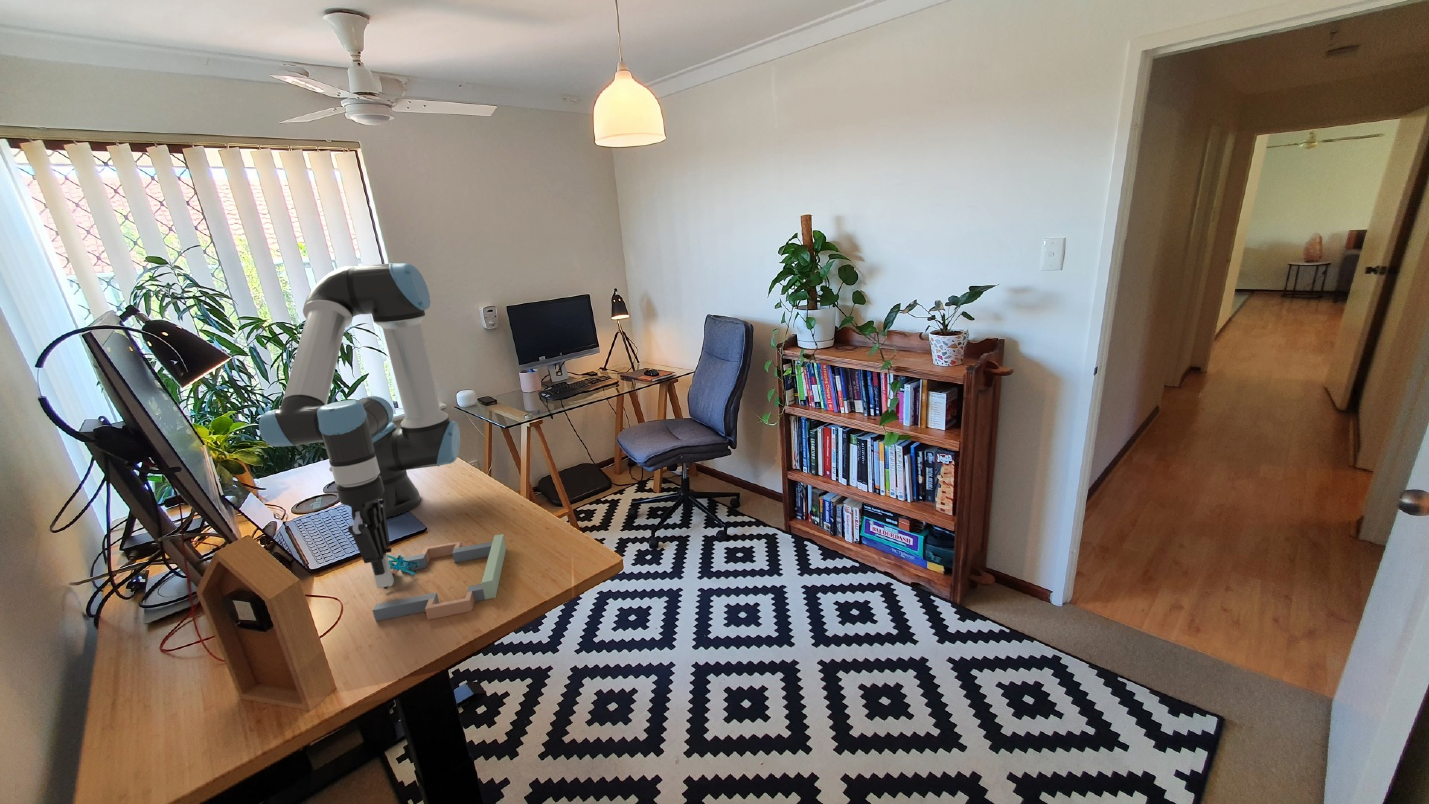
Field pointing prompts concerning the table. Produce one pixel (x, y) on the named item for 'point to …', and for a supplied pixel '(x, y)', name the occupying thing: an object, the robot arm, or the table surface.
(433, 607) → the wall
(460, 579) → the table surface
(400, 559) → the stick construction toy
